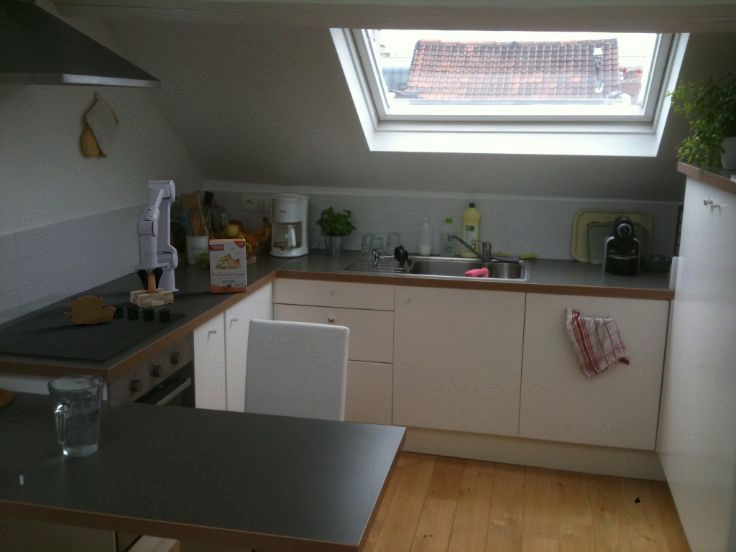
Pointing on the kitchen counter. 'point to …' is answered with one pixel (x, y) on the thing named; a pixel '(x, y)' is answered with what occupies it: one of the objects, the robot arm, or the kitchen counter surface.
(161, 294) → the socket block
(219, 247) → the cracker box
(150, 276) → the peg
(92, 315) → the wooden carving
